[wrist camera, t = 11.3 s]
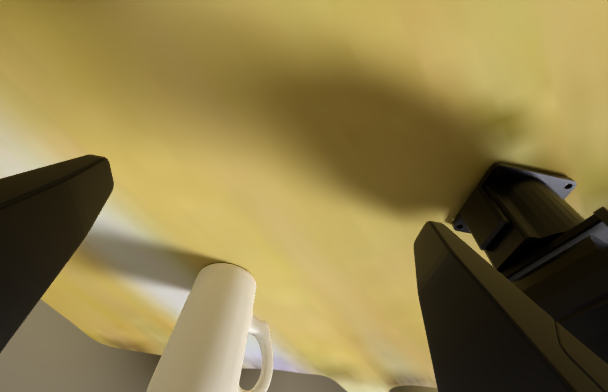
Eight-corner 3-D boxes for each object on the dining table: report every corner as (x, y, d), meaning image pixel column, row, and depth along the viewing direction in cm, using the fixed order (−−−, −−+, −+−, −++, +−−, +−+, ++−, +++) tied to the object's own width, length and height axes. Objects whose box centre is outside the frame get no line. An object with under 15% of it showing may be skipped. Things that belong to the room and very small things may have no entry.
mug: (185, 284, 33) (128, 414, 23) (211, 250, 29) (157, 387, 20) (264, 317, 36) (243, 444, 26) (296, 291, 32) (285, 426, 23)
